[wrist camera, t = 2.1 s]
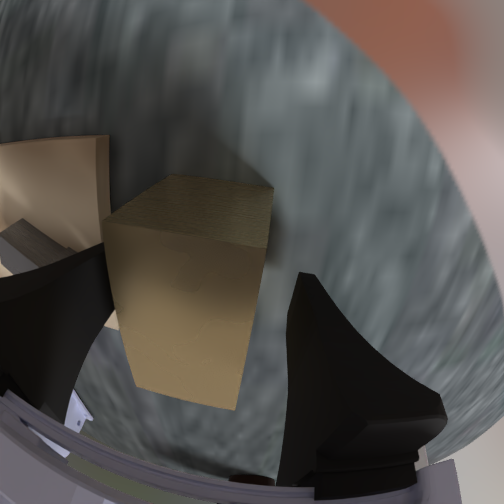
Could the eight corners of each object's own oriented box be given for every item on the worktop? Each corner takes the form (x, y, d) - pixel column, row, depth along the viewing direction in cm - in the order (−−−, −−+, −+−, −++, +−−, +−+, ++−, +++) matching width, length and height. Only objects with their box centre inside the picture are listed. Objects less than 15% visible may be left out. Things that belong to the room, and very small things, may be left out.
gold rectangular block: (273, 187, 10) (267, 248, 6) (249, 324, 14) (235, 410, 9) (173, 173, 10) (101, 221, 6) (172, 309, 14) (136, 386, 9)
